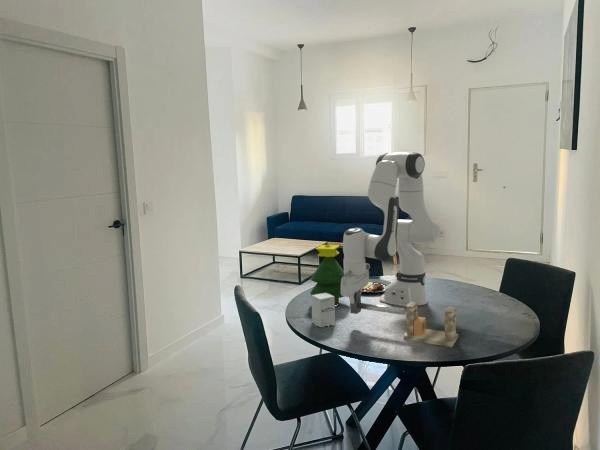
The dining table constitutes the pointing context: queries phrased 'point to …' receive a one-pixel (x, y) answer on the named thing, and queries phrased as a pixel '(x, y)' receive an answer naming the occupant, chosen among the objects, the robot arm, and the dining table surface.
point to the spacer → (419, 326)
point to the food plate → (376, 287)
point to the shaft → (372, 306)
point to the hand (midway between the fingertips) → (355, 301)
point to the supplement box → (323, 309)
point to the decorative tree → (328, 273)
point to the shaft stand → (430, 335)
